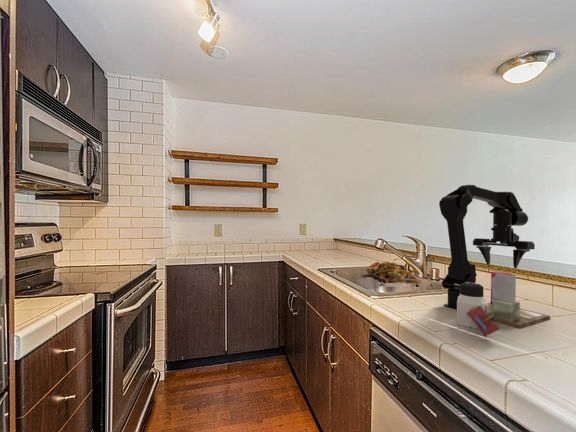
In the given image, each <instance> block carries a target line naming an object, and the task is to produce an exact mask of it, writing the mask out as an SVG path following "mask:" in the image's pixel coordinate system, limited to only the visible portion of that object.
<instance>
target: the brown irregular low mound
mask: <svg viewBox="0 0 576 432" xmlns="http://www.w3.org/2000/svg"><path fill="white" fill-rule="evenodd" d="M405 267H406V265H403V264H398V263H397V262H393V261H391V262H389V261H383V262H382V261H381V263H380V262H379V261H375V262H373V263H371V264H370V265H369V266H368V267H367V270H366V273H368V275H369V277H370V278H372V279H373V280H376V281H377V282H378V283H379V284H378V287H385V288H387V287H388V288H395V287H401V288H402V287H404V288H406V287H415V286H417V287H419V286H420V285H421V280H420V279H419V278H417V277H416V276H413V274H412V272H411V271H409V270H405ZM430 286H431V287H434V283H430Z"/></svg>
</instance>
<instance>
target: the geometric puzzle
mask: <svg viewBox="0 0 576 432" xmlns="http://www.w3.org/2000/svg"><path fill="white" fill-rule="evenodd" d="M485 309H486V310H487V307H486V308H485ZM489 313H492V312H491V311H489V312H486V313H485V311H484V310H483V308H482V307H481V306H475V307H472V308H471V309H470V310H469V311H468V312H467V313H466V314H467V315H468V316H469V317H470V318H471V319H472V321H473V322H474V324H475V325H473V326H472V327H474V326H475V327H476V325H477V327H478V328H479V329H478V328H477V327H476V328H472V327H471V326H470V327H468V329H472V331H474V332H477V331H479V333H480V334H482V335H483V336H485V337H487V336H489V335H490V334H491V335H492V334H493V333H494V332H495V333H496V332H497V331H498V330H501V329H500V325H499V323H497V322H496V321H495V320H494V319H493V320H494V321H493V320H491V319H492V318H493V316H494V315H495V314H496V313H495V314H493V315H490V314H489ZM487 314H489V315H490V316H488V315H487ZM494 317H495V316H494ZM467 318H468V317H467ZM471 319H470V320H471ZM497 321H498V320H497ZM473 322H471V324H472V323H473ZM468 323H469V322H468Z"/></svg>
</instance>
